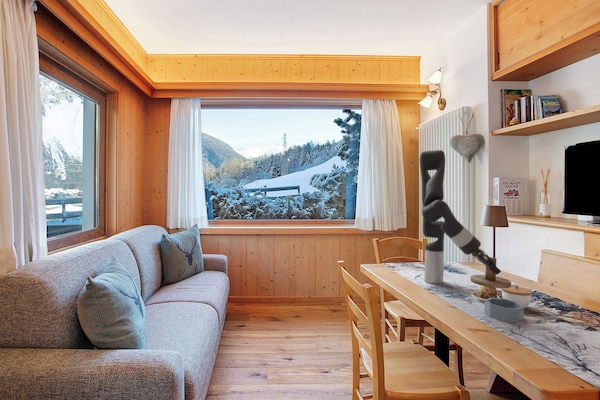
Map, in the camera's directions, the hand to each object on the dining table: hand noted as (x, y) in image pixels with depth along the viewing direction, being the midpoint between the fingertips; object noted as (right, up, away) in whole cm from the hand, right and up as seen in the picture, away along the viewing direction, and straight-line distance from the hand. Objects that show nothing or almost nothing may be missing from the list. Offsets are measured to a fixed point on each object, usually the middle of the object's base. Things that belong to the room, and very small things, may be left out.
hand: (496, 271), depth 125 cm
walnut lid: (-2, -5, +1) cm, 5 cm away
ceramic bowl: (+3, -18, 0) cm, 18 cm away
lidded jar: (+14, -18, +9) cm, 24 cm away
